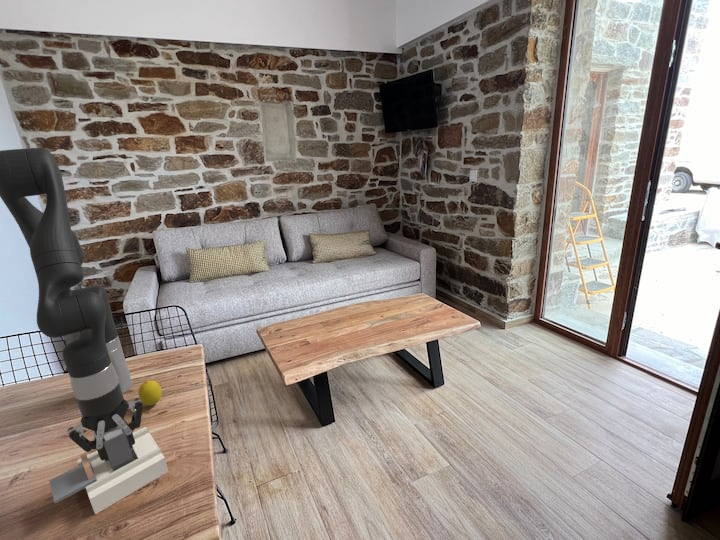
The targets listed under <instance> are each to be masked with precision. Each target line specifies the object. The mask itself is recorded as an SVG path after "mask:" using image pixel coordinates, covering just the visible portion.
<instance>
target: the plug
mask: <svg viewBox="0 0 720 540" xmlns="http://www.w3.org/2000/svg"><path fill="white" fill-rule="evenodd" d="M103 444H104V446H105V449H106V452H107V455H108V458H109V462H110V465H111V468H112V470H113V472H114V471H116V470H118V469H120V468H121V467H123V466H125V465H127V464H129V463H131V462H133V461H134V459H133V456H132V453H131V449H130V446H129V443H128V440H127V437H126V434H125V431H123V430H122V429H121V428H120V427H119V426H116V427H113V428H110V429H109V430H108V431H106V432H104V439H103Z"/></svg>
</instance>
